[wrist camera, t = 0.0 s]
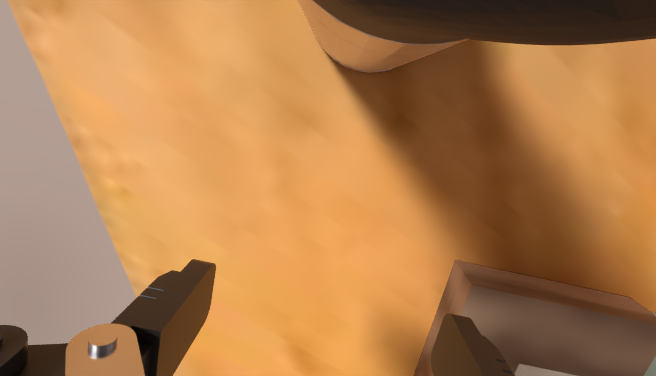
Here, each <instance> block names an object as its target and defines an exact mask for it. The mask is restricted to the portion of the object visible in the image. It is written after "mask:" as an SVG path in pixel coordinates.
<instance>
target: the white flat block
mask: <svg viewBox="0 0 656 376" xmlns="http://www.w3.org/2000/svg"><path fill="white" fill-rule="evenodd" d="M515 376H577V375H572V374H567V373H562V372H557V371H552V370H548V369H543V368H538V367H533V366H528V365H523V364H519V365H518V367H517V370H516V372H515Z"/></svg>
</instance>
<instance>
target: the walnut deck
mask: <svg viewBox="0 0 656 376" xmlns="http://www.w3.org/2000/svg"><path fill="white" fill-rule="evenodd" d="M447 313H450V314H455V315H459V316H464V317H469V318H471V319H472V321H473V322H474V324H475V326H476V327H477V329H478V330H479V332H480V334H481V335H482V336H485V337H486V338H487V339H488V340H489V341H490V342H492V343H493V344H494V345H495V346H496V347H497V348H498V350H499V351H500V353H501V354H502V356H503V357H504V359H505V360H506V363H507V364H508V365H509V367H510V368H511V370H512V371H513V374H515V372H516V370H517V367H518V365H519V364H523V365H528V366H533V367H538V368H543V369H548V370H552V371H557V372H562V373H567V374H572V375H577V376H644V374H645V373H646V371H647V369H648V368H649V366H650V365H651V363H652V361H653V360H654V358H655V356H656V316H655V315H654V314H652V313H651V312H650V311H648V310H647V309H646V308H644V307H643V306H641V305H640V304H639V303H637V302H636V301H634V300H633V299H632V298H630V297H626V296H621V295H616V294H612V293H607V292H602V291H598V290H593V289H588V288H583V287H579V286H574V285H569V284H565V283H560V282H555V281H551V280H546V279H541V278H537V277H532V276H527V275H523V274H518V273H513V272H508V271H504V270H499V269H494V268H490V267H485V266H480V265H476V264H471V263H466V262H462V261H457V260H455V263H454V266H453V268H452V271H451V274H450V277H449V279H448V282H447V285H446V288H445V291H444V293H443V296H442V299H441V302H440V304H439V307H438V310H437V313H436V315H435V318H434V321H433V324H432V327H431V329H430V332H429V335H428V338H427V340H426V343H425V346H424V349H423V352H422V354H421V357H420V360H419V363H418V365H417V368H416V371H415V374H414V376H434V375H433V372H432V369H431V353H432V349H433V346H434V343H435V341H436V338H437V335H438V332H439V329H440V326H441V323H442V320H443V318H444V316H445V315H446V314H447Z"/></svg>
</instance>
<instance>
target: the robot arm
mask: <svg viewBox="0 0 656 376" xmlns="http://www.w3.org/2000/svg"><path fill="white" fill-rule="evenodd" d="M298 2H299V4H300V6H301V8H302V10H303V12H304V14H305V16H306V18H307V20H308V22H309V24H310V26H311V29H312V31H313V33H314V35H315V37H316V39H317V40H318V42H319V43H320V45H321V46H322V48H323V49H324V51H325V52H326V53H327V54H328V55H329V56H330V57H331V58H332V59H333V60H335V61H336V62H338V63H339V64H341V65H343V66H344V67H346V68H349V69H352V70H355V71H358V72H367V73H374V72H383V71H388V70H391V69H392V68H395V67H399V66H401V65H404V64H407V63H409V62H412V61H414V60H417V59H420V58H422V57H425V56H428V55H430V54H433V53H436V52H438V51H441V50H444V49H446V48H448V47H451V46H453V45H456V44H459V43H461V42H464V41H466V40H469V39H472V40H482V41H492V42H502V43H515V44H532V45H587V44H604V43H615V42H625V41H636V40H645V39H655V38H656V0H298ZM215 271H216V265H215V264H214V263H209V262H204V261H200V260H195V259H193V260H191V261H190V262H189V263H188V264H187V266H186V267H185V268H184V269H183V270H182V271H181V272H178V271H173V270H172V271H170V272H168V273H166V274H164V275H161V276H159V277H158V278H157V279H156V280H155V281H154V282H152V283H151V284H150V285H149V287H148V288H146V289H145V290H144V291H143V292H142V293H141V295H140V296H138V297H137V298H136V299H135V300H134V301H133V302H132V303H131V304H130V305H129V306H128V307H127V308H126V309H125V310H124V311H123V312H122V313H121V314H120V315H119V316H118V317H117V318H116V319H115V320H114V321H113V322H112V323H111V324H102V325H97V326H94V327H91V328H88V329H86V330H84V331H82V332H80V333H79V334H78V335H76V336H75V337H74V338H72V339H71V341H70V342H69V343H66V344H47V345H28V336H27V333H26V332H25V331H24V330H23V329H21V328H19V327H16V326H10V325H0V376H173V374H174V372H175V371H176V369H177V367H178V366H179V364H180V362H181V361H182V359H183V357H184V356H185V354H186V352H187V351H188V349H189V347H190V346H191V344H192V342H193V341H194V339H195V337H196V336H197V334H198V333H199V331H200V329H201V328H202V326H203V324H204V322H205V320H206V318H207V315H208V313H209V309H210V305H211V299H212V292H213V285H214V278H215ZM431 369H432V372H433V375H434V376H515V374H513V371H512V370H511V368H510V367H509V365H508V364H507V363H506V360H505V359H504V357H503V356H502V354H501V353H500V351H499V350H498V348H497V347H496V346H495V345H494V344H493V343H492V342H490V341H489V340H488V339H487V338H486V337H485V336H482V335H481V334H480V332H479V330H478V329H477V327H476V326H475V324H474V322H473V321H472V319H471V318H469V317H464V316H459V315H455V314H450V313H447V314H446V315H445V316H444V318H443V320H442V323H441V326H440V329H439V332H438V335H437V338H436V341H435V343H434V346H433V349H432V353H431Z"/></svg>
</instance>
